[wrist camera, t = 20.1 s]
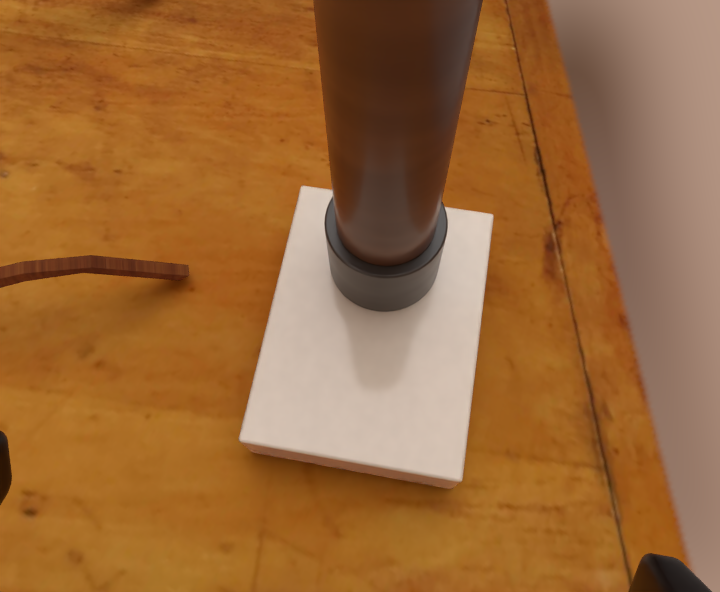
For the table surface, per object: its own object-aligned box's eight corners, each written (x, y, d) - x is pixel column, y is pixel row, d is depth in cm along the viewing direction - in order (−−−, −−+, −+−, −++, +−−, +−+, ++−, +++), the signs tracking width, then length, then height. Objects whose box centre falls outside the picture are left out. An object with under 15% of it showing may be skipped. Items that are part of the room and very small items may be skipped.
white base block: (453, 489, 19) (462, 482, 17) (249, 452, 19) (236, 441, 17) (483, 242, 22) (494, 213, 20) (306, 215, 22) (300, 183, 20)
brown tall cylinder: (397, 333, 18) (433, 52, 8) (307, 272, 19) (235, -56, 9) (459, 250, 19) (561, -96, 9) (371, 195, 20) (374, -183, 10)
